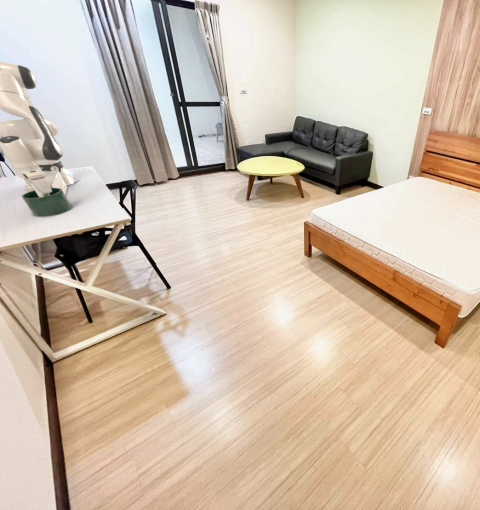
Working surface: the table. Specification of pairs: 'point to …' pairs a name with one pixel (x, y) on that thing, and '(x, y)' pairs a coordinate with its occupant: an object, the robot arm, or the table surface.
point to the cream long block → (53, 181)
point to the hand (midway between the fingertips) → (45, 197)
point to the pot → (47, 203)
